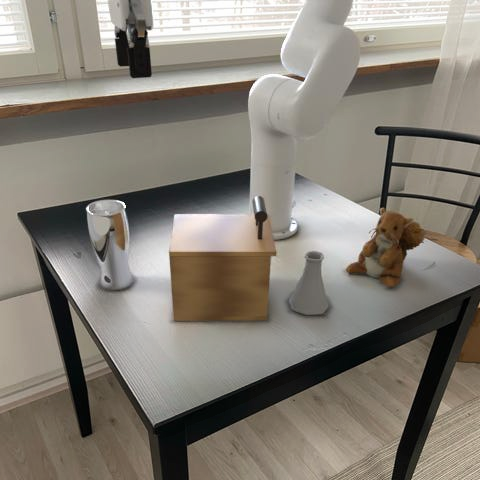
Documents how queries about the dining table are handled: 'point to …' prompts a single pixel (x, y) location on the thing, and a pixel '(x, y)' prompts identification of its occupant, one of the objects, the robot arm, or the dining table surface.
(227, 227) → the lid
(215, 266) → the chest
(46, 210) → the dining table surface
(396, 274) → the stuffed squirrel
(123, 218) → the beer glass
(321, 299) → the flask
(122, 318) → the dining table surface
